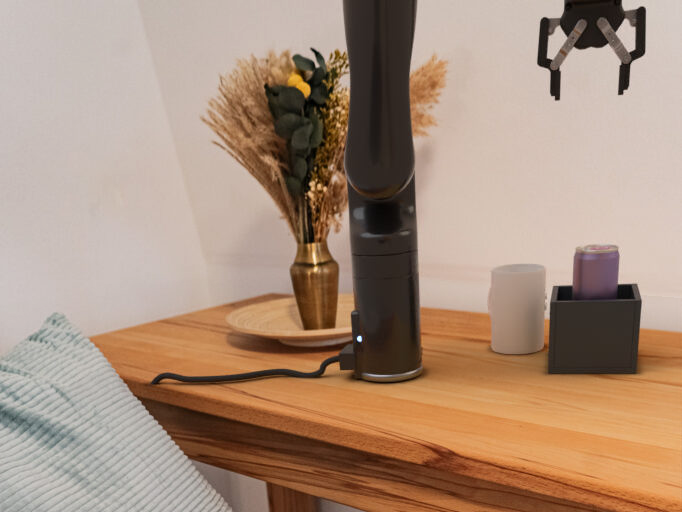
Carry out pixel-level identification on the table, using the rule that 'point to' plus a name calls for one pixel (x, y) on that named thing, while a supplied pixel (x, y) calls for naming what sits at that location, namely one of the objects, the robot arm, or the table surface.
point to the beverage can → (595, 272)
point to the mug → (517, 308)
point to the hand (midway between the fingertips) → (588, 97)
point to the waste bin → (594, 332)
